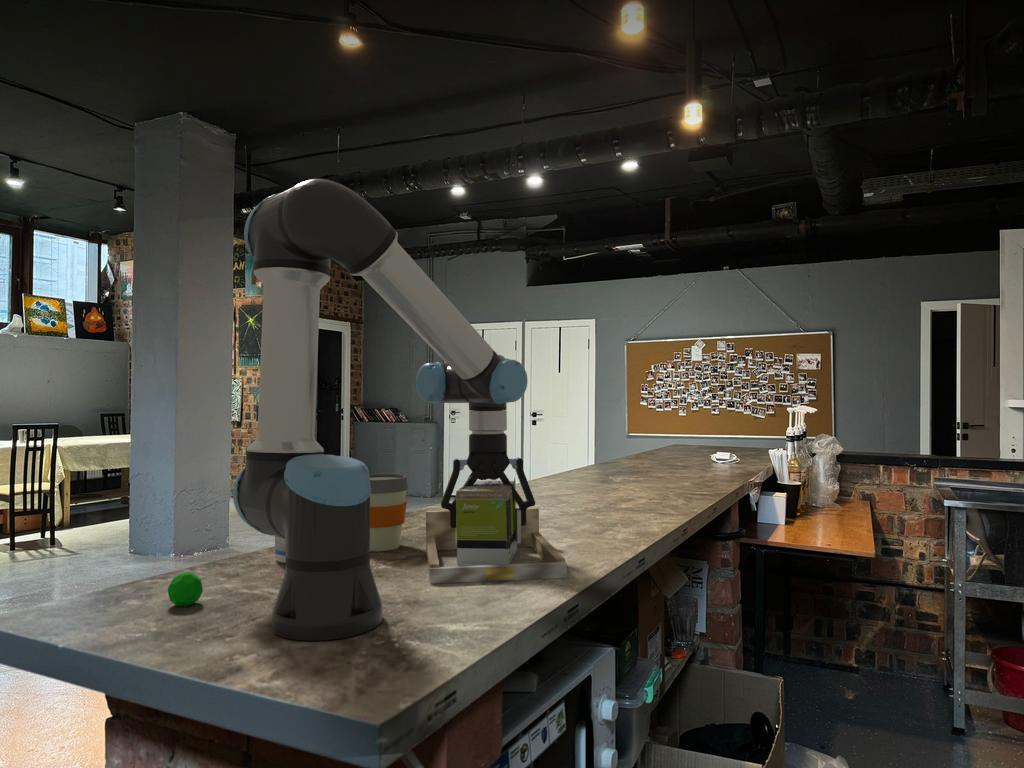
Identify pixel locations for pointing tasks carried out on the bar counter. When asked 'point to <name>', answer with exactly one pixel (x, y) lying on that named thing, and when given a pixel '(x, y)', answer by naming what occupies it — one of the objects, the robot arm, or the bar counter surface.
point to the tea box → (485, 524)
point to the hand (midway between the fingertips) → (488, 543)
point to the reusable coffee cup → (387, 510)
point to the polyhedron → (185, 589)
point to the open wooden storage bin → (445, 539)
